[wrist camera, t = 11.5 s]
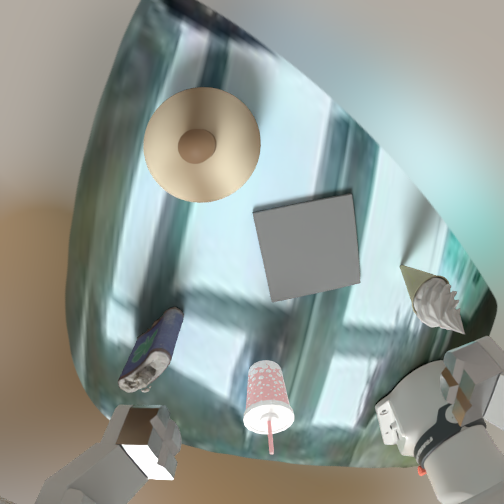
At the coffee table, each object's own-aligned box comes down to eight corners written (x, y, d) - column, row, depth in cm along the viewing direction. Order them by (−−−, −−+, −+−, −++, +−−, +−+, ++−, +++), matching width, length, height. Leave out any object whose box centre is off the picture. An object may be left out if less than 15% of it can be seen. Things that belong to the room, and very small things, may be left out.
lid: (245, 76, 25) (245, 68, 21) (270, 186, 29) (275, 194, 25) (135, 107, 26) (119, 105, 22) (163, 211, 30) (152, 223, 26)
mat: (358, 280, 38) (360, 283, 37) (271, 299, 38) (271, 302, 38) (350, 193, 34) (351, 194, 33) (252, 212, 34) (252, 213, 34)
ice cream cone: (384, 288, 38) (439, 362, 24) (383, 252, 37) (446, 318, 23) (417, 279, 38) (480, 345, 24) (417, 244, 36) (488, 302, 22)
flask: (173, 302, 38) (153, 358, 28) (191, 317, 39) (177, 375, 29) (132, 341, 40) (108, 395, 31) (149, 353, 41) (129, 409, 31)
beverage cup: (237, 362, 42) (235, 444, 29) (280, 350, 41) (293, 433, 28) (250, 390, 44) (253, 469, 31) (291, 380, 44) (304, 459, 30)
